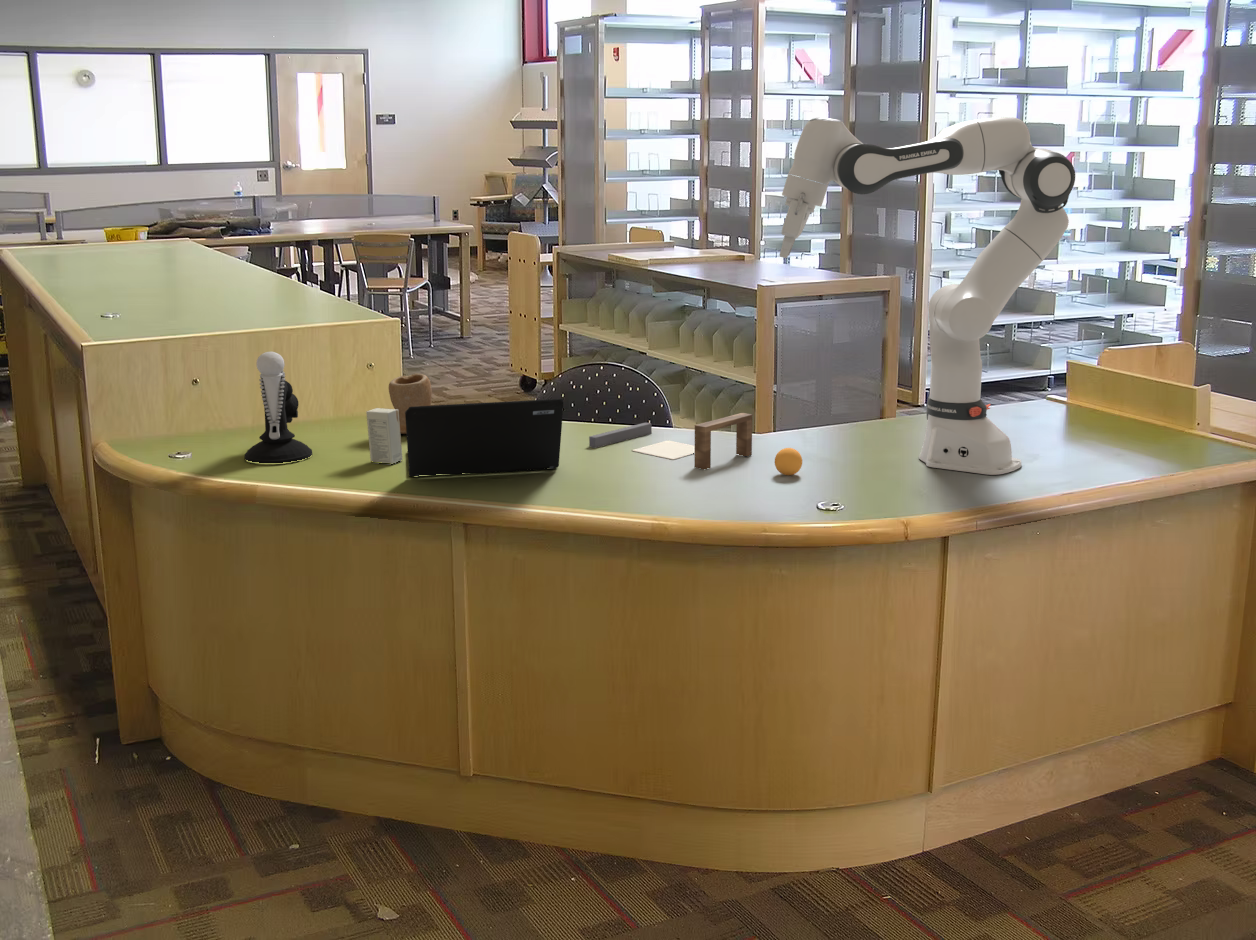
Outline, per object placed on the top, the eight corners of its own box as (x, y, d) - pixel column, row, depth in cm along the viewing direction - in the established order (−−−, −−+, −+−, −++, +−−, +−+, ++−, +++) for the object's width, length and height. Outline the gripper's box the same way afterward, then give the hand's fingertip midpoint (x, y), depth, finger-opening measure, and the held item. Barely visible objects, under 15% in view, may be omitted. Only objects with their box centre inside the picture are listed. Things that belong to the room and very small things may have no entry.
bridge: (751, 455, 292) (752, 414, 290) (704, 469, 280) (705, 427, 278) (741, 453, 294) (742, 412, 292) (694, 467, 282) (694, 425, 280)
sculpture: (239, 466, 287) (229, 357, 280) (257, 442, 309) (249, 341, 303) (307, 464, 288) (299, 355, 282) (321, 440, 311) (313, 339, 304)
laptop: (547, 447, 304) (545, 367, 299) (567, 488, 268) (565, 399, 263) (407, 454, 298) (403, 373, 293) (408, 497, 263) (403, 406, 258)
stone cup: (384, 439, 312) (380, 379, 308) (396, 428, 323) (393, 370, 319) (444, 439, 310) (441, 379, 307) (454, 428, 322) (452, 370, 318)
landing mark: (709, 449, 298) (709, 448, 298) (673, 459, 289) (673, 459, 289) (667, 441, 306) (667, 440, 306) (631, 450, 297) (631, 450, 297)
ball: (807, 474, 275) (808, 447, 274) (791, 480, 271) (791, 453, 270) (785, 470, 279) (785, 443, 278) (768, 475, 275) (769, 448, 273)
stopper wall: (651, 433, 315) (651, 423, 314) (595, 447, 300) (595, 437, 300) (645, 432, 316) (645, 422, 315) (589, 446, 302) (589, 436, 301)
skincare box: (403, 461, 290) (400, 409, 287) (392, 465, 286) (389, 412, 283) (380, 458, 293) (377, 406, 289) (368, 462, 289) (365, 410, 286)
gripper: (817, 197, 258) (796, 263, 262) (818, 197, 278) (799, 258, 281) (787, 188, 259) (767, 254, 262) (791, 189, 278) (772, 250, 282)
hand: (784, 256), depth 272 cm, fingers open, 8 cm apart
